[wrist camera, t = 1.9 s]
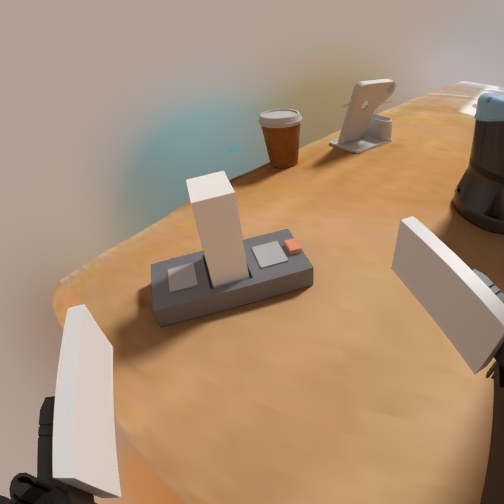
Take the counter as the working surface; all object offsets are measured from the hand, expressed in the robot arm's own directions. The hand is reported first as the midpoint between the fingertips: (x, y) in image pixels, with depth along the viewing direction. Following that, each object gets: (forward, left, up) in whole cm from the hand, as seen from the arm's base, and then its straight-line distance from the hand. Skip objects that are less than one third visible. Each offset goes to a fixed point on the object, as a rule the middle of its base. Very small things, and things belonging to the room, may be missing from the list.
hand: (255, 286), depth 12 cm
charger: (0, -23, -19) cm, 30 cm away
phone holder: (-45, -62, -21) cm, 79 cm away
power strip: (0, -23, -21) cm, 31 cm away
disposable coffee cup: (-20, -57, -21) cm, 64 cm away
